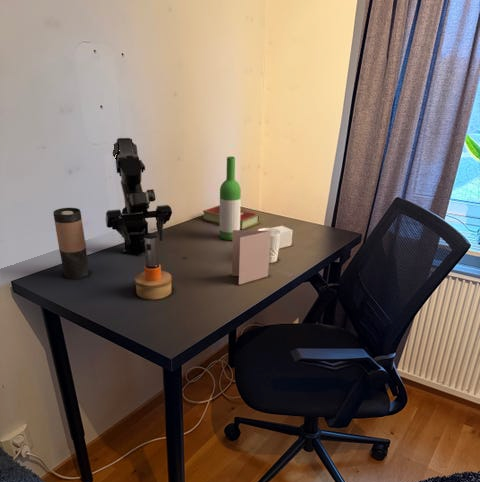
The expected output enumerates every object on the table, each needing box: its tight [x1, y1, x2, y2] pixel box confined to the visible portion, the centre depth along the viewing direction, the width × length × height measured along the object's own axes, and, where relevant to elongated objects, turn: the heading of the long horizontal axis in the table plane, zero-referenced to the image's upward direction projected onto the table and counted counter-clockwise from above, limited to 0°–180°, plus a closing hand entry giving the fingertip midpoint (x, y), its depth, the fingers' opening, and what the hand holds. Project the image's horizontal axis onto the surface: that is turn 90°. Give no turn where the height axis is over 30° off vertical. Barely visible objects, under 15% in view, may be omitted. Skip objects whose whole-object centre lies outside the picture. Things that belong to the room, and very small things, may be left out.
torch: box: [143, 232, 162, 281], centre depth 124 cm, size 5×5×13 cm
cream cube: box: [273, 225, 294, 249], centre depth 165 cm, size 6×6×6 cm
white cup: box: [257, 227, 281, 264], centre depth 151 cm, size 8×8×10 cm
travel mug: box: [52, 207, 90, 280], centre depth 133 cm, size 8×8×20 cm
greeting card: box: [231, 229, 271, 285], centre depth 134 cm, size 11×7×15 cm, turn 91°
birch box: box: [134, 270, 173, 300], centre depth 128 cm, size 10×10×4 cm
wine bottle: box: [219, 155, 242, 241], centre depth 164 cm, size 8×8×30 cm
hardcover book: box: [202, 204, 260, 230], centre depth 188 cm, size 12×21×4 cm, turn 54°
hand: (145, 242), depth 128 cm, fingers open, 9 cm apart
